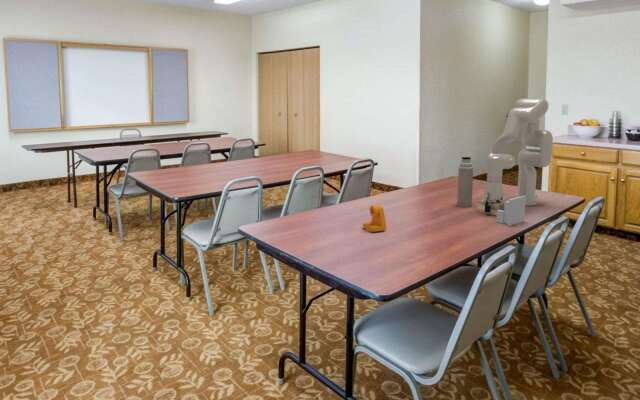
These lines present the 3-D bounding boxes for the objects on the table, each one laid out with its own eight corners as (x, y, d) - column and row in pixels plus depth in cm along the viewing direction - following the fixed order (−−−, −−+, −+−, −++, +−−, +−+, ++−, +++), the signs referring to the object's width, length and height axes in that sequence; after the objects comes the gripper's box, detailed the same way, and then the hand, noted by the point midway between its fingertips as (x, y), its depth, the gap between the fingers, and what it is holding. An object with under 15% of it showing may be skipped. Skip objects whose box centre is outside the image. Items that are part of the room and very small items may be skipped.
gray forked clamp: (494, 222, 249) (495, 197, 246) (509, 218, 257) (510, 193, 254) (509, 226, 243) (511, 199, 240) (524, 221, 251) (525, 196, 248)
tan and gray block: (482, 210, 275) (482, 199, 274) (509, 215, 262) (509, 204, 261) (477, 211, 272) (477, 200, 271) (504, 217, 259) (504, 205, 258)
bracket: (362, 228, 245) (362, 204, 242) (375, 226, 247) (375, 202, 245) (372, 233, 235) (373, 208, 232) (386, 231, 238) (386, 207, 235)
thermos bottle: (470, 204, 289) (473, 156, 283) (472, 207, 281) (474, 158, 275) (456, 204, 291) (458, 156, 285) (457, 207, 283) (459, 158, 277)
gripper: (497, 176, 271) (495, 207, 275) (478, 180, 261) (476, 212, 265) (510, 178, 266) (508, 209, 269) (490, 182, 255) (489, 215, 259)
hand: (492, 210), depth 267 cm, fingers open, 8 cm apart
